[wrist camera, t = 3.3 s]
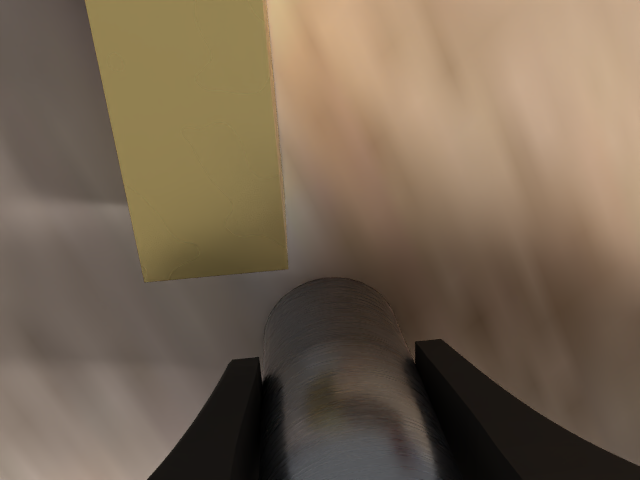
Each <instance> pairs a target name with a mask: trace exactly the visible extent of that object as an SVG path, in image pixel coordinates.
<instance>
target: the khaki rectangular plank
mask: <svg viewBox="0 0 640 480" xmlns="http://www.w3.org/2000/svg"><path fill="white" fill-rule="evenodd" d="M85 4H86V9H87V13H88V18H89V23H90V27H91V32H92V37H93V42H94V46H95V51H96V56H97V61H98V65H99V70H100V75H101V80H102V84H103V89H104V94H105V98H106V103H107V108H108V113H109V117H110V122H111V127H112V132H113V136H114V141H115V146H116V151H117V155H118V160H119V165H120V169H121V174H122V179H123V184H124V188H125V193H126V198H127V203H128V207H129V212H130V217H131V222H132V226H133V231H134V236H135V240H136V245H137V250H138V255H139V259H140V264H141V269H142V274H143V278H144V282H154V281H165V280H176V279H187V278H198V277H209V276H220V275H231V274H242V273H253V272H264V271H275V270H285V269H288V253H287V233H286V214H285V196H284V186H283V175H282V164H281V154H280V143H279V132H278V122H277V111H276V100H275V89H274V79H273V68H272V57H271V47H270V36H269V25H268V15H267V4H266V0H85Z"/></svg>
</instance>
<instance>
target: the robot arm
mask: <svg viewBox="0 0 640 480" xmlns="http://www.w3.org/2000/svg"><path fill="white" fill-rule="evenodd" d="M415 366H416V368H417V370H418V373H419V375H420V378H421V380H422V382H423V385H424V387H425V390H426V392H427V394H428V397H429V399H430V402H431V404H432V406H433V409H434V411H435V414H436V416H437V418H438V421H439V423H440V426H441V428H442V430H443V433H444V435H445V438H446V440H447V442H448V445H449V447H450V450H451V452H452V454H453V457H454V459H455V462H456V464H457V466H458V469H459V471H460V473H461V476H462V478H463V480H640V466H638V465H635V464H633V463H631V462H629V461H627V460H624V459H622V458H620V457H618V456H616V455H614V454H612V453H610V452H608V451H606V450H604V449H602V448H599V447H597V446H595V445H594V444H592V443H590V442H588V441H586V440H584V439H582V438H580V437H578V436H577V435H575V434H573V433H571V432H570V431H568V430H566V429H564V428H563V427H561V426H559V425H557V424H556V423H554V422H552V421H550V420H549V419H547V418H546V417H544V416H542V415H541V414H539V413H538V412H536V411H535V410H533V409H532V408H530V407H529V406H527V405H526V404H524V403H523V402H521V401H520V400H518V399H517V398H515V397H514V396H513V395H511V394H510V393H508V392H507V391H506V390H504V389H503V388H502V387H500V386H499V385H498V384H496V383H495V382H494V381H492V380H491V379H490V378H488V377H487V376H486V375H485V374H483V373H482V372H481V371H479V370H478V369H477V368H476V367H475V366H473V365H472V364H471V363H470V362H468V361H467V360H466V359H465V358H463V357H462V356H461V355H460V354H459V353H457V352H456V351H455V350H454V349H453V348H451V347H450V346H449V345H448V344H447V343H445V342H444V341H443V340H442V339H436V340H426V341H416V342H415ZM261 406H262V378H261V370H260V362H259V357H255V358H245V359H235V360H232V361H231V362H230V363H229V364H228V366H227V368H226V370H225V372H224V373H223V375H222V377H221V379H220V381H219V382H218V384H217V386H216V388H215V389H214V391H213V392H212V394H211V396H210V397H209V399H208V401H207V402H206V404H205V405H204V407H203V408H202V410H201V411H200V413H199V414H198V416H197V417H196V419H195V420H194V422H193V423H192V425H191V426H190V427H189V429H188V430H187V431H186V433H185V434H184V435H183V437H182V438H181V439H180V441H179V442H178V443H177V445H176V446H175V447H174V449H173V450H172V451H171V452H170V454H169V455H168V456H167V457H166V458H165V460H164V461H163V462H162V463H161V464H160V466H159V467H158V468H157V469H156V470H155V471H154V472H153V473H152V475H151V476H150V477H149V478H148V479H147V480H258V479H259V454H260V429H261Z"/></svg>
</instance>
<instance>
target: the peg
mask: <svg viewBox="0 0 640 480" xmlns="http://www.w3.org/2000/svg"><path fill="white" fill-rule="evenodd" d="M258 480H463V478H462V476H461V473H460V471H459V469H458V466H457V464H456V462H455V459H454V457H453V454H452V452H451V450H450V447H449V445H448V442H447V440H446V438H445V435H444V433H443V430H442V428H441V426H440V423H439V421H438V418H437V416H436V414H435V411H434V409H433V406H432V404H431V402H430V399H429V397H428V394H427V392H426V390H425V387H424V385H423V382H422V380H421V378H420V375H419V373H418V370H417V368H416V366H415V363H414V361H413V358H412V356H411V354H410V351H409V349H408V346H407V344H406V342H405V339H404V337H403V334H402V332H401V330H400V327H399V325H398V322H397V320H396V318H395V315H394V313H393V310H392V309H391V307H390V305H389V304H388V302H387V301H386V300H385V299H384V298H383V297H382V296H381V295H380V294H379V293H378V292H377V291H375V290H374V289H372V288H371V287H369V286H367V285H365V284H363V283H361V282H358V281H355V280H350V279H345V278H325V279H318V280H315V281H311V282H308V283H306V284H303V285H301V286H299V287H297V288H295V289H294V290H292V291H291V292H289V293H288V294H287V295H285V296H284V297H283V298H282V299H281V300H280V301H279V302H278V304H277V305H276V306H275V307H274V309H273V311H272V312H271V314H270V316H269V318H268V321H267V324H266V328H265V334H264V353H263V378H262V406H261V429H260V454H259V479H258Z"/></svg>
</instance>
